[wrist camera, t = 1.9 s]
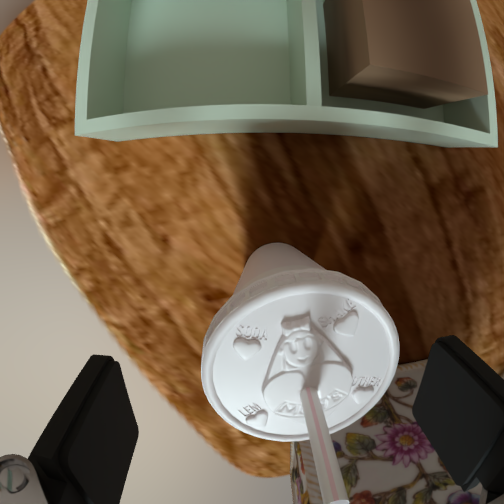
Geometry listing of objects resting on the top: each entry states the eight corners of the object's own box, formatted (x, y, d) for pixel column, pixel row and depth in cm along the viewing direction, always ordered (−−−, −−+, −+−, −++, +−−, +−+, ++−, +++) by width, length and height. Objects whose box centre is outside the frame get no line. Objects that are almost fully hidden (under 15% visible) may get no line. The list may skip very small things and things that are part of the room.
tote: (431, 8, 14) (470, -18, 9) (446, 147, 16) (497, 147, 12) (127, -8, 13) (99, -46, 9) (117, 141, 16) (74, 135, 11)
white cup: (235, 332, 19) (227, 554, 6) (207, 232, 18) (114, 419, 4) (337, 309, 19) (444, 501, 6) (320, 207, 17) (502, 324, 4)
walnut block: (414, 22, 14) (466, -14, 8) (424, 109, 15) (488, 94, 9) (322, 4, 14) (352, -51, 8) (329, 95, 15) (370, 64, 9)
